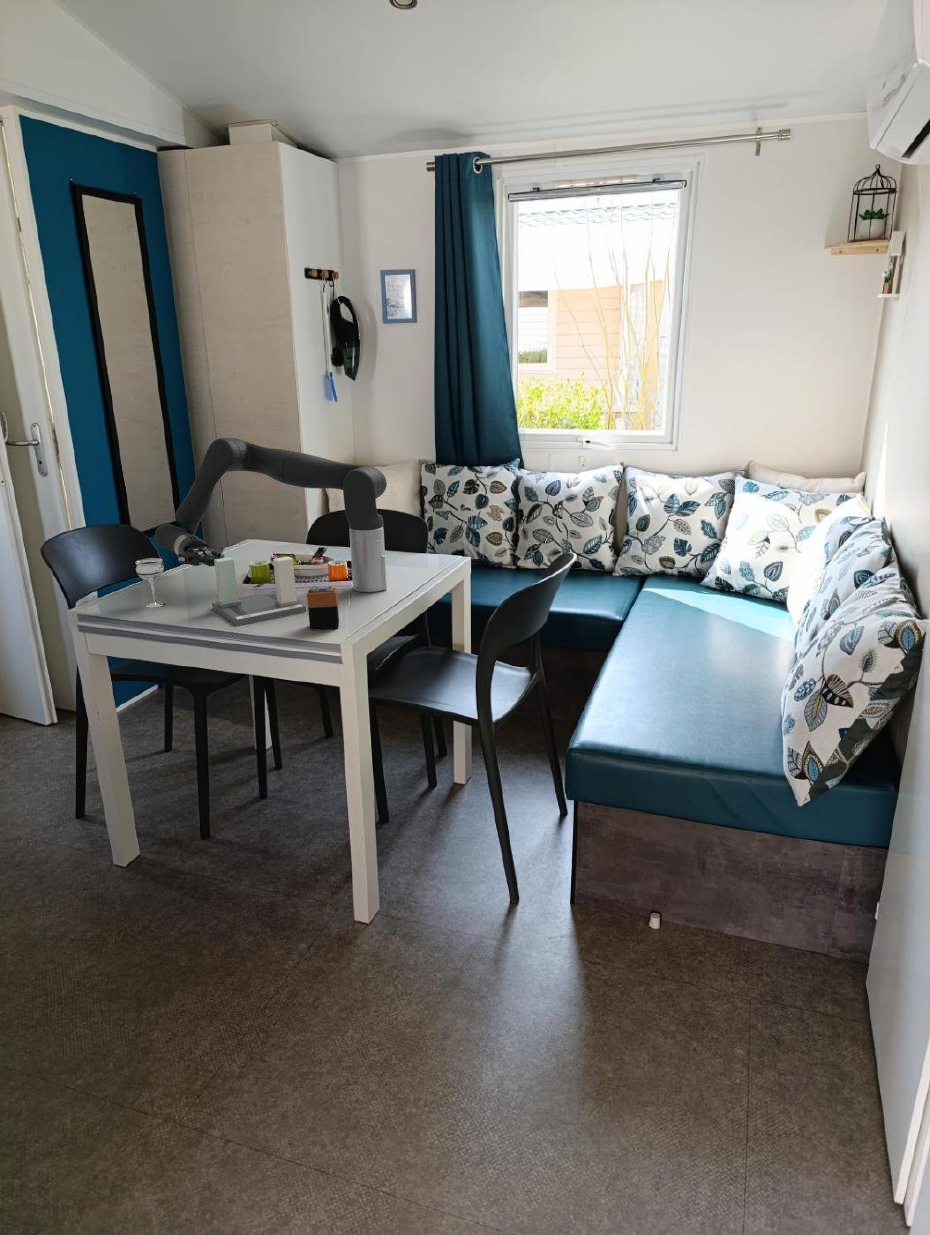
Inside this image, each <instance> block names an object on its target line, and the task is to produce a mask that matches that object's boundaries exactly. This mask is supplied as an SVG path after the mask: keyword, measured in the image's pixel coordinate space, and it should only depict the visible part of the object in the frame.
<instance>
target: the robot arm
mask: <svg viewBox="0 0 930 1235" xmlns="http://www.w3.org/2000/svg"><path fill="white" fill-rule="evenodd" d="M227 472H250V473H258V474H263V475H266V476H268V477H270V478H272V479H273V480H275V481H277V482H279V483H282V484H285V485H290V486H293V487H298V488H302V489H303V488H304V489H321V490H322V489H335V490H341V491H343V492H342V493H343V494H342V496H343V503H344V504H343V506H344V512H345V517H346V519H347V521H348V528H349V531H348V532H349V542H350V543H349V544H350V558H351V559H350V560H351V561H350V562H351V574H352V575H351V577H352V578H351V579H352V589H353V590H354V591H356V592H360V593H374V592H380V591H387V588H388V587H387V568H386V566H387V565H386V551H385V549H386V548H385V535H384V534H385V532H384V518H383V516H382V515H381V514H379V513H378V510H377V500H376V499H378V498H380V497H381V496H382V495H383V494H384V493H385V492H386V489H387V486H388V483H387V479H386V476H385V474H384V473H383V472H382V471H381V470H380V469H378V468H377V467H375V466H373V465H362V464H352V463H351V464H350V463H346V462H345V463H344V462H339V461H335V460H331V459H329V458H325V457H320V456H316V455H311V454H307V453H304V452H300V451H299V452H298V451H295V450H288V449H283V448H282V449H281V448H271V447H270V448H269V447H265V446H261V445H257V444H254V443H251V442H248V441H245V440H243V439H241V438H236V437H221V438H217V439H215V440H213V441H212V442H211V443H210V445H209V446H208V448H207V450H206V453H205V454H204V457H203V460H202V462H201V465H200V467H199V470H198V472H197V474H196V477H195V479H194V481H193V484H192V485H191V487H190V489H189V491H188V493H187V494H186V496H185V498H184V499H183V500H182V502H181V504H180V505H179V506H178V508H177V510H176V512H175V513H174V519H175V520H176V523H178V524H179V525H180V526H181V527H183V528H184V529H183V528H181V527H178V526H176V525H173V524H171V523H163V524H161V525H159V526H158V527H157V528H156V530H155V532H154V540H155V542H156V544H157V546H159V547H161V548H162V549H166V550H168V551H170V552H172V553H174V554H175V555H176V556H177V558H178V564H179V565H180V564H181V565H189V566H193V567H197V566H202V565H205V566H208V567H215V562H214V560H215V559H221V558H225V550H224V548H223V547H219V548H217V549H216V550H215V549H214V548H212V547H210V546H209V544H208V543H207V542H206V541H205V540H203V539H201V538H200V537H198V536H196V532H197V529H198V527H199V524H200V523H201V521H203V520H202V519H203V518H204V517H205V516H206V513H207V512H208V510H209V508H210V505H211V503H212V498H213V493H214V490H215V487H216V485H217V483H218V482H219V481H220V480H221V478H222V477H223V476H224V474H226V473H227Z"/></svg>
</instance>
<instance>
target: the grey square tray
mask: <svg viewBox="0 0 930 1235" xmlns="http://www.w3.org/2000/svg"><path fill="white" fill-rule="evenodd" d="M238 600H240V601H241V604H240V605H235V606H230V607H225V608H222V607H220V606H219V605H217V601H215V602H211V607H212V609H213V610H214V611H216V612H217V613H219V614H220V615H221V616H222V617H224V618H225V619H227V620H228V621H230V622H231V623H232V624H233V625H235V626H237V627H239V626H244V625H248V624H249V625H250V624H253V623H259V622H262V621H268V620H271V619H273V620H274V619H278V618H282V617H287V616H293V615H298V614H301V613H302V614H303V613H307V610H306V605H304V604H302V603H301V602H299V604H296V605H291V606H286V607H279V606H278V605H276V604H275V601H276V600H277V594H276V590H274V591H273V590H272V591H267V592H262V593H257V594H252V595H251V594H250V595H246V596H241V597H238ZM292 614H293V615H292Z"/></svg>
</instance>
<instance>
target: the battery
mask: <svg viewBox="0 0 930 1235" xmlns="http://www.w3.org/2000/svg"><path fill="white" fill-rule="evenodd" d="M306 596H307V597H306V598H307V606H308V607H307V609H308V611H307V612H308V622H309V630H311V629H322V630H332V629H331V628H337V629H339V627H340V626H339V625H340V617H339V615H340V614H339V601H338V600H339V599H338V589H337V588H336V587H333V586H332V585H330V586H329V585H328V586H326V587H324V588H320V586H316V585H313V586H310V589H308V591H307V594H306Z"/></svg>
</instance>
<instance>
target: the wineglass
mask: <svg viewBox="0 0 930 1235" xmlns="http://www.w3.org/2000/svg"><path fill="white" fill-rule="evenodd" d="M135 564H136V568H135V571H136V572H135V573H136V574H137V575H138V577H139V578H141V579H142V580H143V581H147V582H148V583H150V587H151V593H152V599H153V602H152V603H149V605H148V604H147V605H148V607H159V606H162V605H163V603H164V602H156V593H155V582H156V580H158V579H160V578H161V576H162V575H163V574H164V570H165V567H164V565H163V559H162V558H158V557H150V558H143V559H138V560H136V561H135ZM159 608H160V607H159Z"/></svg>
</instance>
